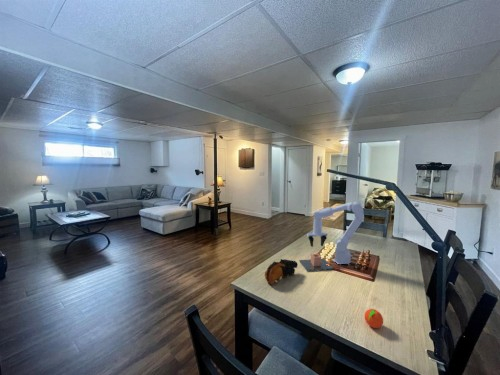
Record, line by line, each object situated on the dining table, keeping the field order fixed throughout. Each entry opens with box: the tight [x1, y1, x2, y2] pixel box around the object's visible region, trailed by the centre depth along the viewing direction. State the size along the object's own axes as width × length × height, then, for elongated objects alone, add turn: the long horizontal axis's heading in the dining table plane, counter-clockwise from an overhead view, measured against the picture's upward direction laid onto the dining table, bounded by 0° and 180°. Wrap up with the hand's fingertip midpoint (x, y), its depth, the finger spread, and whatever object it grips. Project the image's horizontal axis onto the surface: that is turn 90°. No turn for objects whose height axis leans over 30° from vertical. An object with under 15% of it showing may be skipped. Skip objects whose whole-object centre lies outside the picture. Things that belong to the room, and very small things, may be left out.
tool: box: [264, 258, 299, 286], centre depth 128 cm, size 8×23×15 cm, turn 128°
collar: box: [310, 253, 322, 266], centre depth 144 cm, size 5×5×6 cm
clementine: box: [364, 308, 384, 329], centre depth 90 cm, size 8×7×7 cm
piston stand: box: [298, 258, 335, 272], centre depth 144 cm, size 18×14×5 cm
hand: (316, 245), depth 154 cm, fingers open, 7 cm apart
